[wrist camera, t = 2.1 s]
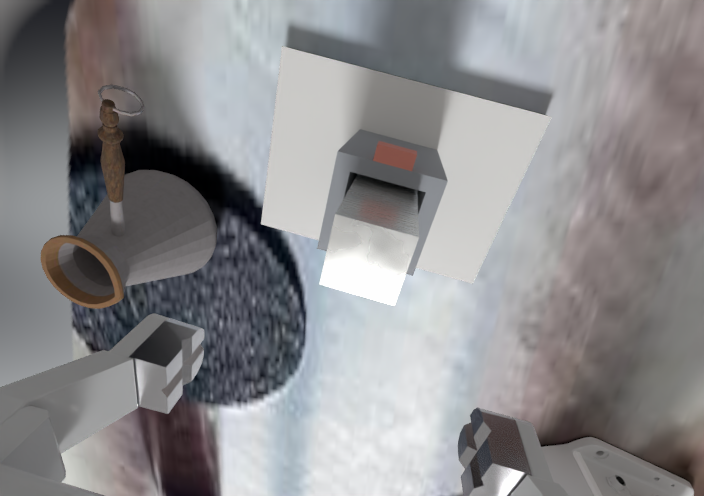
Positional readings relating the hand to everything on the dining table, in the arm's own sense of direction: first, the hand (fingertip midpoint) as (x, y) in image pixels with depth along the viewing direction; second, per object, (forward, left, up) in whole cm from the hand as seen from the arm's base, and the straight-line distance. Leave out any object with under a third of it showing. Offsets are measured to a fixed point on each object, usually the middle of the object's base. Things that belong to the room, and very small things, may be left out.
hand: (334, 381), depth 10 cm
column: (0, 0, -23) cm, 23 cm away
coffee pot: (+19, +6, -25) cm, 32 cm away
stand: (0, 0, -25) cm, 25 cm away
